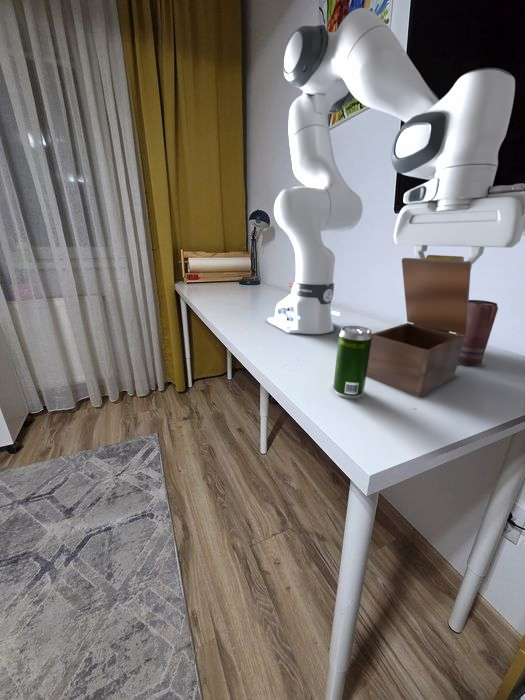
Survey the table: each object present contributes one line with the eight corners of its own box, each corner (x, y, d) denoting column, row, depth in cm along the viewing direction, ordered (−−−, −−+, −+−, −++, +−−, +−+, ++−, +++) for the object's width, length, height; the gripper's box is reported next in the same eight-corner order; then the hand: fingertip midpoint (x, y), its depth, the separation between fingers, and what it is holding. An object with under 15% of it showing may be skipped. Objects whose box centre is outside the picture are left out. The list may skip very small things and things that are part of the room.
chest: (419, 397, 52) (430, 351, 48) (363, 374, 60) (369, 334, 57) (454, 376, 60) (465, 336, 57) (400, 358, 68) (407, 322, 65)
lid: (469, 263, 47) (483, 248, 49) (401, 259, 56) (415, 246, 58) (464, 335, 56) (476, 320, 58) (407, 322, 65) (418, 309, 67)
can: (467, 368, 64) (485, 305, 58) (443, 357, 69) (458, 299, 64) (488, 365, 65) (508, 304, 60) (463, 355, 71) (479, 298, 66)
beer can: (368, 399, 51) (378, 334, 47) (338, 399, 51) (345, 334, 46) (357, 384, 56) (365, 325, 52) (329, 385, 56) (335, 325, 51)
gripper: (544, 184, 44) (514, 276, 49) (412, 197, 60) (400, 266, 64) (532, 178, 41) (502, 278, 46) (396, 194, 56) (384, 268, 61)
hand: (441, 271), depth 55 cm, fingers closed on lid, 6 cm apart
